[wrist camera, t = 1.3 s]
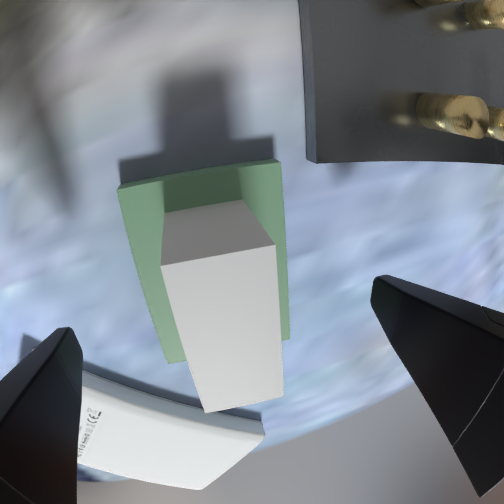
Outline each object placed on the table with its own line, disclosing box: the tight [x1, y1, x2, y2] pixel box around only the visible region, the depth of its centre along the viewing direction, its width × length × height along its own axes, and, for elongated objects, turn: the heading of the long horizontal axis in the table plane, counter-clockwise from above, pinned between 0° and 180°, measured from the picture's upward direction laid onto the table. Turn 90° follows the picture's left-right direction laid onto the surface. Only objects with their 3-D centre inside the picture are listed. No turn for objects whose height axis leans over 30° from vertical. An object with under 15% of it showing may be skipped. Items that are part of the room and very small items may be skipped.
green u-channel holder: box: [117, 159, 290, 413], centre depth 10 cm, size 5×7×4 cm
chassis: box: [299, 0, 504, 165], centre depth 8 cm, size 13×9×3 cm
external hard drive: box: [31, 348, 265, 490], centre depth 14 cm, size 2×8×12 cm
